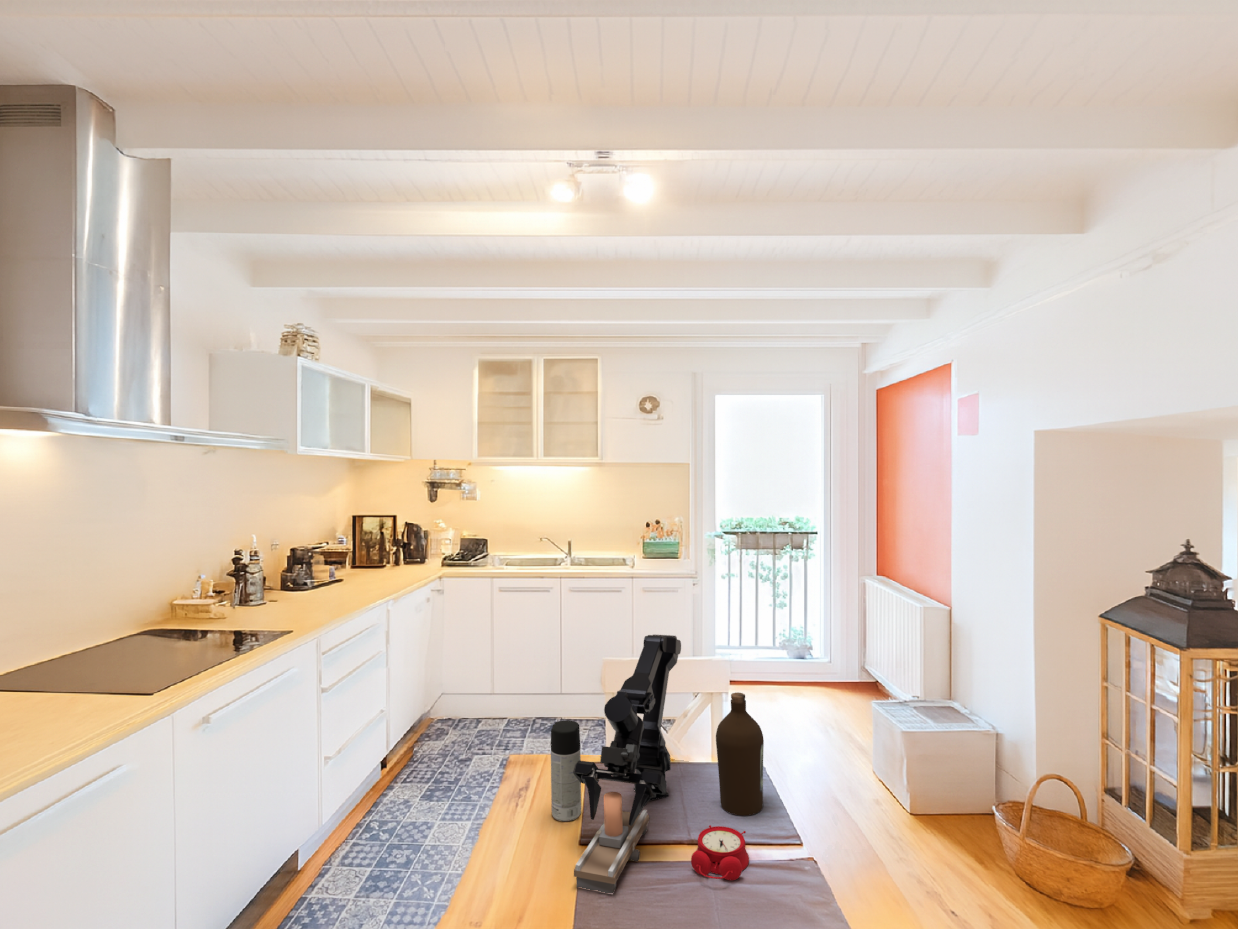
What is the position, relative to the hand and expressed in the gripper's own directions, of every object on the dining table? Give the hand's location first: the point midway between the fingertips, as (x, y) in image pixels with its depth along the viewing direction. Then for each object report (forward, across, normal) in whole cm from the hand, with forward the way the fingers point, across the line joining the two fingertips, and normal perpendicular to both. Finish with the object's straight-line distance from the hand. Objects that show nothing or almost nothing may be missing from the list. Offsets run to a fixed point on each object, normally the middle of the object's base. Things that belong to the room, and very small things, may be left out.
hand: (610, 822), depth 128 cm
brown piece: (+4, 0, +6) cm, 8 cm away
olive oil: (-14, +21, +25) cm, 36 cm away
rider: (+2, 0, +4) cm, 4 cm away
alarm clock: (+2, +20, +9) cm, 22 cm away
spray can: (-4, -16, +15) cm, 22 cm away
